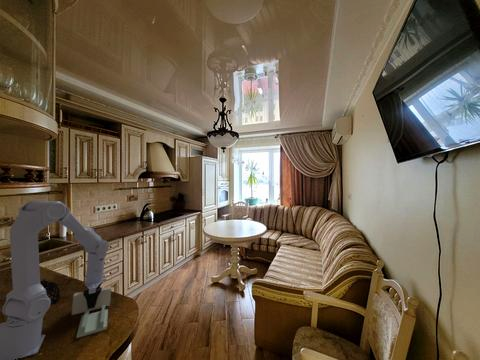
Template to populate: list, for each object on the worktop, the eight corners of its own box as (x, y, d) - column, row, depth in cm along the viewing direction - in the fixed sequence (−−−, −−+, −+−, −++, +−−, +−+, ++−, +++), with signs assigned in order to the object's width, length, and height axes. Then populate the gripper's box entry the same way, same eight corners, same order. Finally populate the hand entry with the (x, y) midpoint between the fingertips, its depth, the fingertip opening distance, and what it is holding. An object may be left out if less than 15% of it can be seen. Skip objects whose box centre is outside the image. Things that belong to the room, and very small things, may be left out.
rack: (76, 338, 61) (77, 328, 61) (81, 318, 70) (82, 310, 70) (106, 329, 65) (107, 320, 66) (107, 311, 75) (108, 303, 75)
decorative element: (62, 301, 81) (64, 287, 81) (46, 307, 76) (48, 292, 77) (44, 286, 92) (46, 274, 92) (29, 291, 88) (31, 277, 88)
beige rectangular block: (71, 315, 72) (73, 296, 72) (72, 311, 74) (74, 293, 74) (109, 306, 78) (111, 288, 79) (109, 303, 80) (111, 286, 81)
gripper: (106, 273, 73) (103, 310, 72) (107, 261, 85) (105, 292, 85) (83, 277, 70) (79, 316, 69) (88, 264, 82) (85, 297, 81)
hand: (92, 303), depth 76 cm, fingers open, 6 cm apart
